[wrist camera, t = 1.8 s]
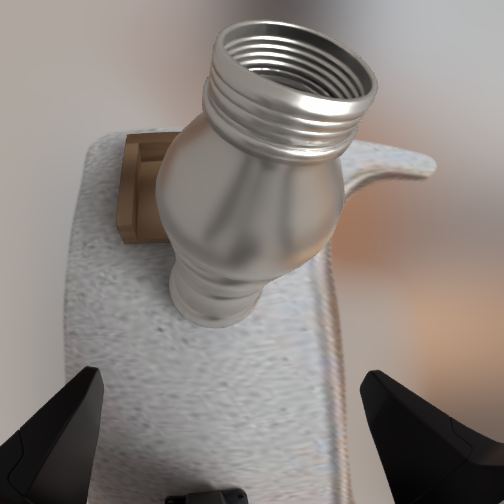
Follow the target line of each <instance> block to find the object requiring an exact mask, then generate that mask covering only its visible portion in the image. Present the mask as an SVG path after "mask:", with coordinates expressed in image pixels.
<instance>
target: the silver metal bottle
mask: <svg viewBox="0 0 504 504" xmlns="http://www.w3.org/2000/svg"><path fill="white" fill-rule="evenodd" d="M377 90H378V82H377V79H376V77H375V74H374V73H373V71H372V70H371V68H370V67H369V66H368V65H367V63H366V62H365V61H364V60H363V59H362V58H361V57H359V56H358V55H357V54H356V53H355V52H353V51H352V50H351V49H349V48H348V47H346V46H345V45H343V44H342V43H340V42H338V41H337V40H335V39H333V38H331V37H329V36H327V35H325V34H323V33H320V32H318V31H315V30H313V29H310V28H307V27H303V26H300V25H296V24H293V23H287V22H282V21H274V20H248V21H241V22H238V23H234V24H231V25H229V26H227V27H225V28H224V29H223V30H221V31H220V32H219V34H218V36H217V38H216V41H215V43H214V46H213V52H212V59H211V67H210V74H209V76H208V77H207V79H206V81H205V84H204V87H203V96H202V110H203V113H201V114H200V115H198V116H197V117H196V118H195V119H194V120H193V121H192V122H191V123H190V124H189V125H188V126H187V127H186V128H184V129H183V130H182V131H181V132H180V133H179V134H178V135H177V136H176V137H175V139H174V140H173V142H172V143H171V145H170V146H169V148H168V149H167V152H166V154H165V157H164V159H163V161H162V164H161V167H160V170H159V173H158V176H157V179H156V193H155V196H156V201H157V206H158V211H159V215H160V218H161V223H162V225H163V227H164V229H165V232H166V234H167V236H168V238H169V240H170V242H171V244H172V246H173V248H174V251H175V256H176V260H175V262H174V264H173V267H172V270H171V274H170V280H169V290H170V294H171V298H172V301H173V303H174V305H175V307H176V308H177V309H178V311H179V312H180V313H181V314H182V315H183V316H184V317H185V318H187V319H188V320H189V321H191V322H193V323H195V324H197V325H200V326H203V327H207V328H224V327H228V326H231V325H234V324H236V323H238V322H240V321H242V320H243V319H244V318H246V317H247V316H248V315H249V314H250V313H251V312H252V311H253V309H254V308H255V306H256V304H257V303H258V301H259V299H260V296H261V294H262V290H263V287H264V286H265V285H267V284H268V283H269V282H270V281H273V280H275V279H277V278H279V277H281V276H283V275H285V274H287V273H289V272H291V271H293V270H295V269H297V268H299V267H300V266H302V265H303V264H304V263H306V262H307V261H309V260H310V259H311V258H313V257H314V256H315V255H316V254H317V253H318V252H320V251H321V250H322V249H323V248H324V247H325V245H326V244H327V242H328V241H329V240H330V238H331V237H332V235H333V232H334V230H335V228H336V225H337V223H338V220H339V217H340V214H341V211H342V208H343V203H344V195H345V191H344V182H343V174H342V167H341V161H340V158H339V157H340V156H341V155H342V154H343V153H344V152H345V151H346V149H347V148H348V147H349V145H350V144H351V142H352V141H353V139H354V138H355V135H356V133H357V131H358V124H359V123H360V121H361V120H362V118H363V117H364V115H365V113H366V112H367V111H368V109H369V107H370V106H371V105H372V103H373V101H374V99H375V96H376V93H377Z"/></svg>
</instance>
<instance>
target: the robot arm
mask: <svg viewBox="0 0 504 504" xmlns="http://www.w3.org/2000/svg"><path fill="white" fill-rule="evenodd" d="M103 394H104V384H103V381H102V377H101V374H100V370H99V369H98V368H96V367H90V366H86V367H85V368H84V369H82V370H81V371H80V372H79V373H78V374H77V375H76V376H75V377H74V378H73V379H72V380H70V381H69V382H68V383H67V384H66V385H65V386H64V387H63V388H62V389H61V390H60V391H59V392H58V393H57V394H55V395H54V396H53V397H52V398H51V399H50V400H49V401H48V402H47V403H46V404H45V405H44V406H43V407H42V408H40V409H39V410H38V411H37V412H36V413H35V414H34V415H33V416H32V417H31V418H30V419H29V420H28V421H27V422H26V423H25V424H24V425H23V426H22V427H21V428H20V430H17V431H16V432H15V434H13V435H12V436H11V437H10V438H9V439H8V440H7V441H6V442H5V443H3V444H2V445H1V446H0V504H86V503H87V496H88V489H89V483H90V477H91V471H92V465H93V460H94V455H95V450H96V445H97V440H98V435H99V429H100V420H101V410H102V402H103ZM360 394H361V397H362V402H363V405H364V410H365V414H366V418H367V422H368V426H369V428H370V431H371V434H372V437H373V439H374V443H375V445H376V448H377V451H378V454H379V457H380V460H381V462H382V465H383V468H384V471H385V474H386V477H387V480H388V483H389V486H390V489H391V493H392V496H393V498H394V502H395V504H504V443H500V442H496V441H494V440H492V439H490V438H488V437H486V436H484V435H482V434H480V433H478V432H476V431H474V430H472V429H470V428H468V427H466V426H465V425H463V424H461V423H460V422H458V421H457V420H455V419H453V418H452V417H449V415H447V414H446V413H444V412H442V411H441V410H439V409H437V408H436V407H435V406H433V405H432V404H430V403H428V402H427V401H425V400H424V399H422V398H421V397H419V396H418V395H416V394H415V393H413V392H412V391H410V390H409V389H407V388H406V387H404V386H403V385H401V384H400V383H398V382H397V381H395V380H394V379H392V378H391V377H389V376H388V375H386V374H384V373H383V372H382V371H380V370H372V371H369V372H368V373H367V374H366V376H365V378H364V380H363V382H362V384H361V386H360ZM238 494H243V495H242V496H241V497H238ZM170 500H171V501H173V502H174V503H169V502H168V501H170ZM165 504H248V499H247V495H246V493H245V491H244V490H234V491H227V492H220V491H212V492H202V493H189V494H188V495H185V496H168V497H166V498H165Z"/></svg>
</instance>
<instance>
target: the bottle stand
mask: <svg viewBox="0 0 504 504" xmlns="http://www.w3.org/2000/svg"><path fill="white" fill-rule="evenodd" d="M179 133H180V132H161V133H142V134H128V135H127V139H126V145H125V151H124V158H123V164H122V172H121V180H120V188H119V198H118V208H117V221H116V226H117V228H118V230H119V233H120V235H121V237H122V239H123V241H124V244H134V243H152V242H170V240H169V238H168V236H167V234H166V232H165V229H164V227H163V225H162V223H161V218H160V215H159V211H158V206H157V201H156V196H155V193H156V179H157V176H158V173H159V170H160V167H161V164H162V161H163V159H164V157H165V154H166V152H167V149H168V148H169V146H170V145H171V143H172V142H173V140H174V139H175V137H176V136H177V135H178V134H179Z"/></svg>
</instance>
